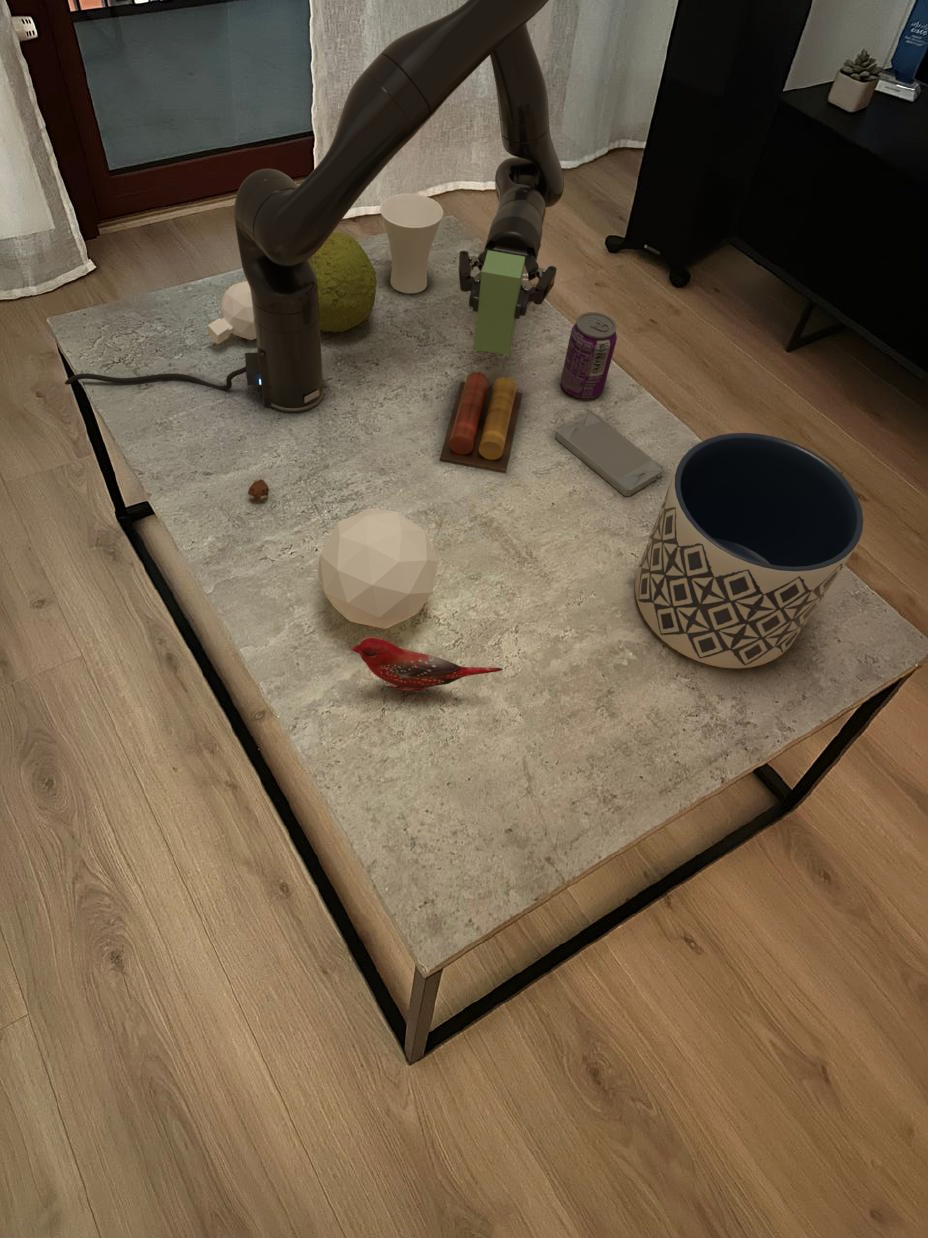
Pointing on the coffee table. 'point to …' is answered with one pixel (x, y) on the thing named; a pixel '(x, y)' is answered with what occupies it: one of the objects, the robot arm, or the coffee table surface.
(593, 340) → the beverage can
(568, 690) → the coffee table surface
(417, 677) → the decorative bird figurine
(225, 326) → the perfume bottle
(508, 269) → the green bar
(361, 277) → the fruit
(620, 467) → the phone
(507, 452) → the rod rack
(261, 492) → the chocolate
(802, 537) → the planter
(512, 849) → the coffee table surface
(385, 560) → the geometric sphere
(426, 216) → the cup
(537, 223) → the robot arm
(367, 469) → the coffee table surface
